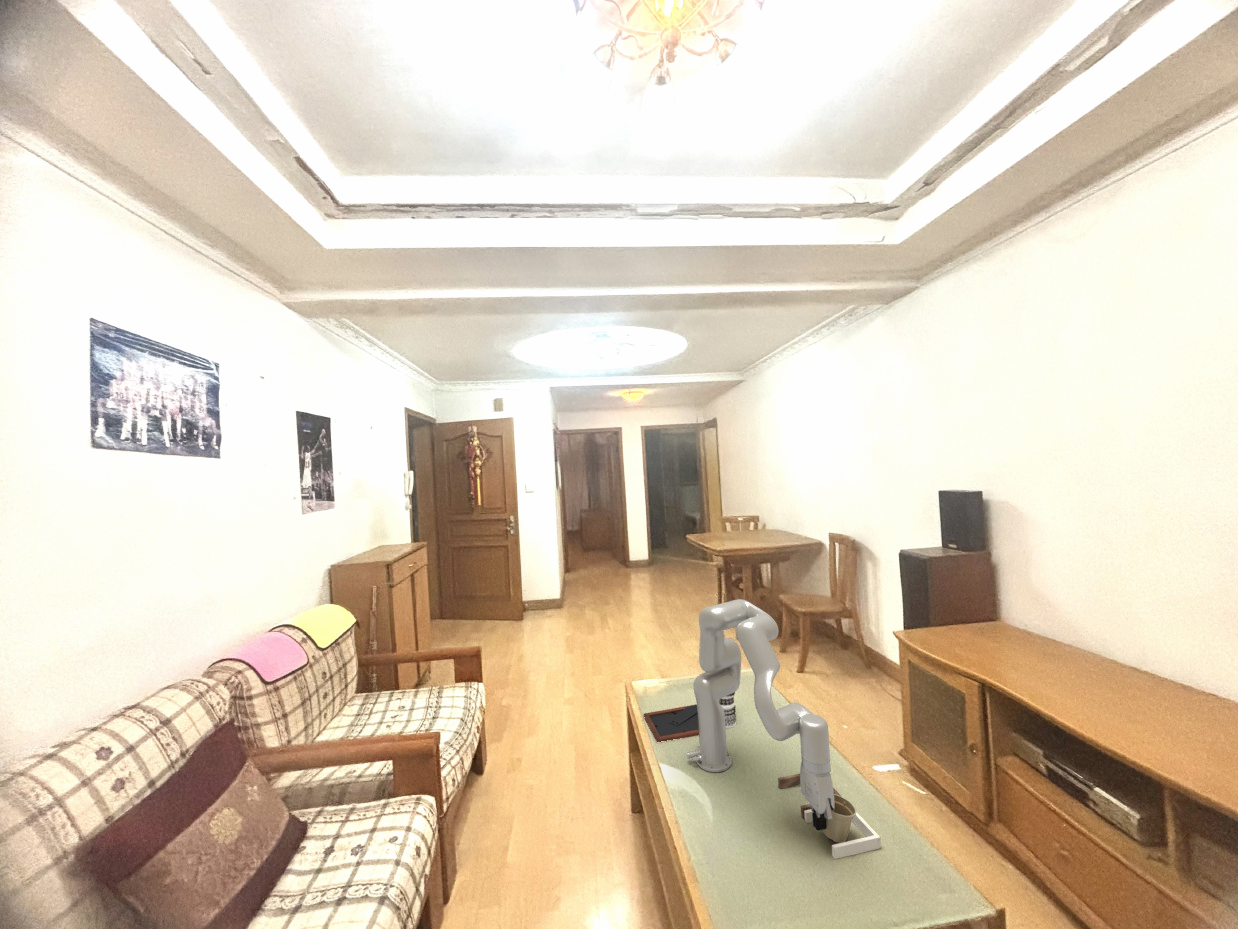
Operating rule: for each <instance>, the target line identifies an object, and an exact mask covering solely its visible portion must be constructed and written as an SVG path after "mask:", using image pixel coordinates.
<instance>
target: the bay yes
mask: <svg viewBox="0 0 1238 929" xmlns="http://www.w3.org/2000/svg"><path fill="white" fill-rule="evenodd" d="M812 813H813V812H812V810H811V809H810V810H805V811H804V815H805V818H804V822H805V823H806V824H809V823H813V817H812ZM851 822H853V823H854V824H855V825H856V827H857V828H858V829H859V830H860V832H862V834H864V836H865V837H862V838H857V839H852V840H848V841H847V840H846V841H845V842H843V843H834V844H832V845H831V854H832V858H833V859H834V860H837V859H840V858H845V857H850V856H853V855H857V854H862V853H866V852H870V851H874V850H879V849H881V848H882V846H881V844H882V842H881V836H880V835H879V834H878V833H877V832H876V831H875V830H874V829H873V828H872V827H871V826H870V825H869V824H868V823H867V821H866V820H865V819H864V818H863V817H862V816H861V815H860V814H859V813H858V811H856V815H855V816H854V818H853V819H852V821H851Z"/></svg>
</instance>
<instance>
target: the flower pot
mask: <svg viewBox="0 0 1238 929" xmlns="http://www.w3.org/2000/svg"><path fill="white" fill-rule="evenodd" d="M834 802H835V808H834V811H831V814H832V819H829V820H827V819H826V824H827V828H826V829H823V830H822V832H823V835H825V837H826V838H828V840H829V839H831V840H832V841H833V842H834V843H837V844H839V843H843V842H847V840H848V836H849V831H850V828H851V824H852V822H853V821H852V819H853V818H854V816H855V815H856V812H857V808H856V806H855V805H854V804H853V803H852V801H850V800H848V799H847V798H845V797H843V796H842V795H841V796H839V795H836V794H834Z"/></svg>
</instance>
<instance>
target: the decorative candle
mask: <svg viewBox="0 0 1238 929" xmlns="http://www.w3.org/2000/svg"><path fill="white" fill-rule="evenodd" d="M735 694H736V692H734V693H732V694H730V695H727V696H725V697H723V698H721V699H720V700H719V703H720V705H721V706H722V707H723V709H724V712H725V726H726V729H731V728H734V727H735V726H736V725H737V713H736V711H737V709H736V708H737V707H736V705H735V698H734V697H735V696H736V695H735Z"/></svg>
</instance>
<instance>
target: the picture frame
mask: <svg viewBox="0 0 1238 929" xmlns="http://www.w3.org/2000/svg"><path fill="white" fill-rule="evenodd" d="M642 715H643V718H644V717H645V718H644V720H645V722H646V724H647V726H648V728H649V730H650V729H651V730H650V732H651V731H652V732H651V734H652V733H653V734H652V735H654V736H653V738H654V737H655V738H654V739H656V740H655V742H656V741H657V742H661V741H666V742H668V741H667V740H671V741H674V740H673V739H677V740H680V738H682V739H687V738H691V737H696V736H698V737H699V726H698V711H697V703H696V704H691V705H684V706H681V707H676V708H675V707H674V708H673V707H672V708H669V709H663V710H657V711H651V712H645V713H643V714H642ZM657 742H656V743H657ZM661 743H662V742H661Z"/></svg>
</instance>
